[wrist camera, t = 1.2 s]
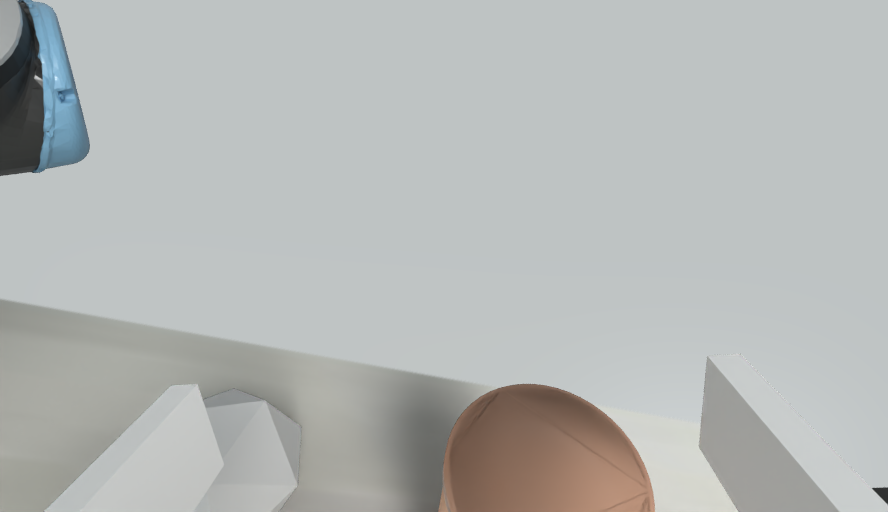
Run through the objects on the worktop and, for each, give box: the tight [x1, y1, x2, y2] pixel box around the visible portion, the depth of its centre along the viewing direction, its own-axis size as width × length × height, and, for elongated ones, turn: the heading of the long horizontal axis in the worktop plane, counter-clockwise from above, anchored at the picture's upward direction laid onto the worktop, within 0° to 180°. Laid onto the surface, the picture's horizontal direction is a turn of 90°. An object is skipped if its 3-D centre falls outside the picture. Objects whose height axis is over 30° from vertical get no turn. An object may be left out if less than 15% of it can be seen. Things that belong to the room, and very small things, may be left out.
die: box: [193, 388, 302, 512], centre depth 28 cm, size 8×9×10 cm
